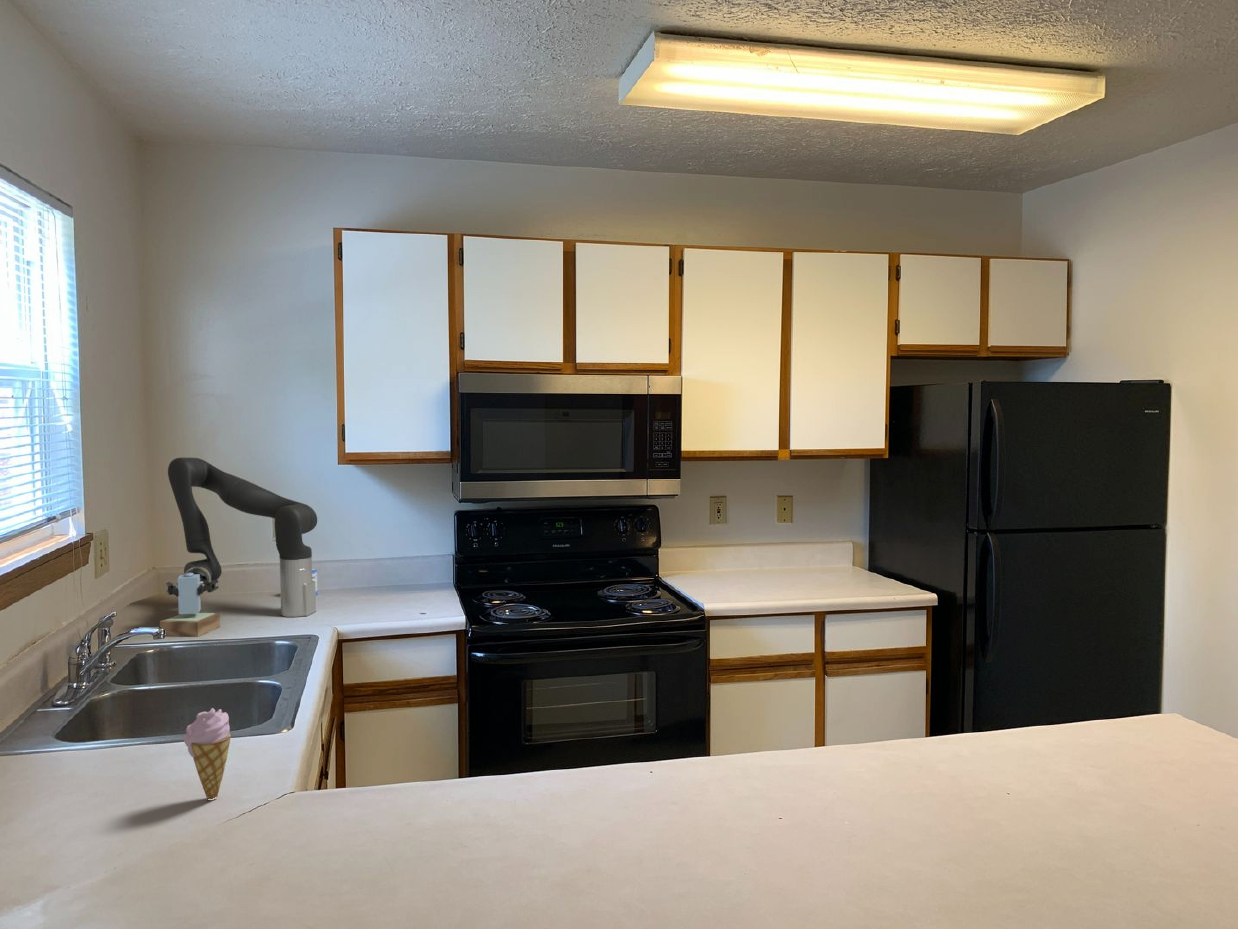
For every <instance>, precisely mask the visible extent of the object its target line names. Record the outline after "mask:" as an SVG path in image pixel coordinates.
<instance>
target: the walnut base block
mask: <svg viewBox="0 0 1238 929" xmlns="http://www.w3.org/2000/svg"><path fill="white" fill-rule="evenodd" d="M160 627H161V628H163V629H164V630H165V631H166V636H165V637H193V638H195V637H196V638H199V637H200V636H203V635H205V634H207V633H210V632H212V631H214V630H217V629H219V628H220V627H221V614H220V612H199V613H191V614H179V613H178V614H176V615H172V616H170V617H168V618H164V619H162V620H160V621H159V628H160Z"/></svg>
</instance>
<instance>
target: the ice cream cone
mask: <svg viewBox="0 0 1238 929" xmlns="http://www.w3.org/2000/svg"><path fill="white" fill-rule="evenodd" d="M195 717H196V719H195V720H194V721H193V722H192V723H191V724H188V725H187V726H186V730H185V731H186V733H185V734H184V736H183V742H184V744H185V746H186V747H187V752H188V754H189V756H191V757H192V758H193V762H194V766H195V769H196V772H197V774H198V777H199V780H200V784H201V786H202V789H203V791H204V794H205V797H206V799H213V798H215V797H217V798H218V795H219V792H220V789H221V784H222V781H223V776H224V773H225V772H224V771H225V768H226V763H227V760H228V759H227V758H228V754H229V748H230V742H231V735H232V734H231V733H230V730H231V728H230V727H231V726H230V723H229V721H230V718H229V714H228V713H227V712H226V711H225V712H223V710H222V709H220V708H219V709H218V710H215V709H214V707H212V708H210V710H209V711H202V712H198V713H197V715H196V716H195Z"/></svg>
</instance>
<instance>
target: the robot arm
mask: <svg viewBox="0 0 1238 929" xmlns="http://www.w3.org/2000/svg"><path fill="white" fill-rule="evenodd" d="M167 476H168V480H169V481H168V482H169V485H170V487H171V490H172V493H173V497H174V499H175V502H176V505H177V508H178V511H179V514H180V518H181V521H182V526H183V532H184V538H185V546H186V551H187V552H188V553H190V554H202V555H204V556H205V557H206V559H205V558H204V559H198V560H193V561H189V562H187V563H186V564H185V565H184V568H183V574H184V573H193V575H194V574H200V585H199V587H198V588H197V595H200V596H201V595H203V594H205V593H206V591H207V593H211V592H212V593H213V592H215V591H216V590H218V589H219V579H220V577H221V575H222V571H223V570H222V567H221V564H220V562H219V560H218V558H217V556H216V554H215V552H214V549H213V545H212V540H211V536H210V535H211V534H210V528H209V524H208V522H207V519H206V518H205V516H204V513H203V512H202V510H201V509H200V508H199V506H198V504H197V502H196V500H195V497H194V494H193V487H195V488H201V489H205V490H208V491H210V492H213V493H215V494H216V495H218V497H219V498H220V500H221V501H222V502H223V503H224V504H225V505H227V506H229V507H231V508H233V509H235V510H236V511H237V510H238V511H240V512H242V513H245V514H248V515H254V516H260V517H265V518H271V519H274V536H275V545H276V546H275V547H276V550H277V551H278V555H279V558H278V559H279V586H280V587H279V588H280V590H279V592H280V593H279V594H280V615H281V616H283V617H288V618H295V617H296V618H298V617H308V616H310V615H312V614H313V613H316V612H317V604H316V603H317V602H316V600H317V599H316V597H317V595H316V593H315V581H312V569H313V551H312V548H311V547H310V545H306V544H304V542H303V535H304V534H307V533H309V532H311V531H313V530H314V529H315V527H316V526H317V524H318V516H317V513H316V511H315V509H313V508H312V507H311V506H309V505H308V504H306V503H302V502H299V501H296V500H292V499H289V498H287V497H283V496H281V495H279V494H276V493H275V492H272V491H271V490H268V489H266V488H264V487H261V486H259V485H257V484H256V483H253V482H251V481H249V480H246V479H243V478H240V477H238V476H236V475H234V474H231V473H228V472H225V471H223V470H221V469H219V468H218V467H216V466H214V465H212V464H211V463H210V462H207V461H206V460H205V459H202V458H198V457H176V458H174V459H172V461H170V463H169V464H168V467H167ZM166 592H167V594H168V595H169V596H171V595H173V596H175V597H177V598H178V596H179V591H178V582H176V584H174V582H170V581H168V582H166Z"/></svg>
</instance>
